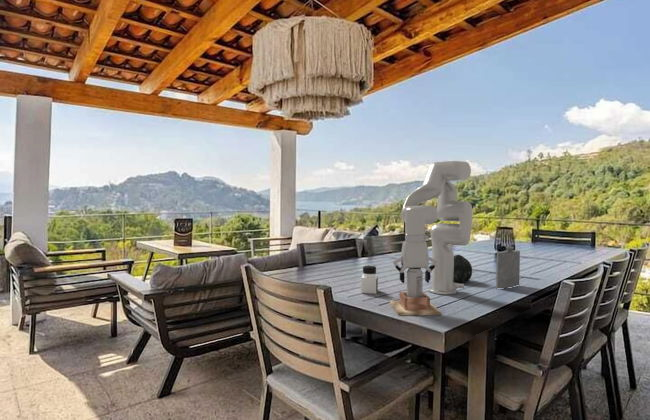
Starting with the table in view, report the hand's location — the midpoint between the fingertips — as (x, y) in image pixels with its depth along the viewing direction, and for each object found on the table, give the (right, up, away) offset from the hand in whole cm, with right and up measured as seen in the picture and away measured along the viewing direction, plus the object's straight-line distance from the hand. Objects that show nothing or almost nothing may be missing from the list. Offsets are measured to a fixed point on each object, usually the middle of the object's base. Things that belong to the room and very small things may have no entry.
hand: (414, 282), depth 149 cm
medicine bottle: (-15, -10, +27) cm, 32 cm away
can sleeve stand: (0, -10, 0) cm, 10 cm away
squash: (+34, -9, +49) cm, 61 cm away
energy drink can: (0, -10, 0) cm, 10 cm away
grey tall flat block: (+54, -10, +36) cm, 66 cm away
